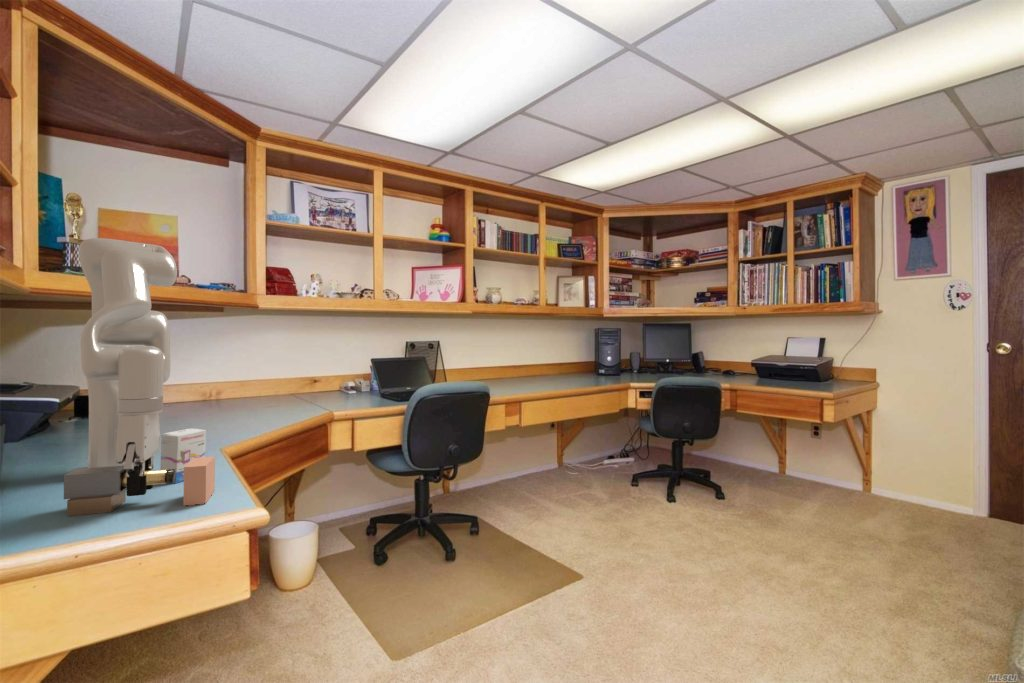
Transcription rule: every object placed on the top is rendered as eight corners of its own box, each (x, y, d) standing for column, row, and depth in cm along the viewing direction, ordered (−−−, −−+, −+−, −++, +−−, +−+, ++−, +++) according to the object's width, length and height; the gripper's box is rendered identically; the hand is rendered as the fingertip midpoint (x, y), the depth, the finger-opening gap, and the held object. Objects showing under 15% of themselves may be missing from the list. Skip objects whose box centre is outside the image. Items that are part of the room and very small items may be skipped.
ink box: (176, 484, 112) (177, 435, 112) (159, 482, 113) (159, 433, 113) (206, 474, 121) (206, 428, 121) (190, 472, 122) (190, 427, 122)
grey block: (60, 516, 91) (60, 476, 91) (78, 504, 98) (79, 467, 98) (117, 511, 95) (117, 472, 95) (131, 500, 101) (131, 463, 101)
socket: (183, 506, 98) (183, 467, 98) (194, 493, 106) (194, 457, 106) (205, 503, 100) (206, 465, 100) (214, 492, 107) (215, 456, 107)
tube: (76, 492, 94) (76, 477, 94) (83, 488, 97) (84, 473, 97) (171, 484, 100) (171, 470, 99) (175, 480, 102) (175, 467, 102)
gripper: (134, 401, 105) (133, 482, 105) (100, 412, 90) (99, 507, 90) (174, 400, 108) (173, 479, 108) (147, 411, 92) (146, 503, 92)
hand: (140, 491), depth 99 cm, fingers closed on tube, 3 cm apart
